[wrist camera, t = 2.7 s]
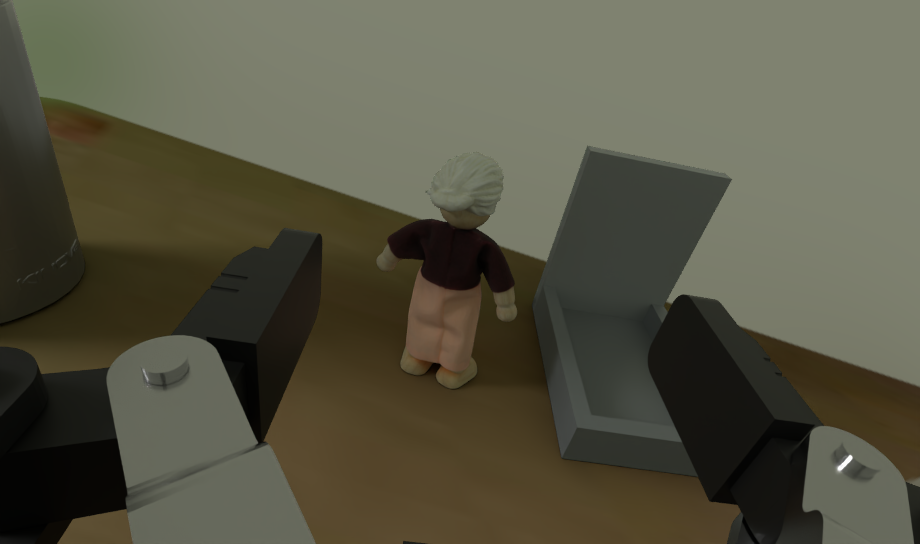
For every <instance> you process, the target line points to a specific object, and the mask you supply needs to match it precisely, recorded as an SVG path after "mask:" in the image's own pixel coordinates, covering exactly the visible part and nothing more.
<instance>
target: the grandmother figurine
mask: <svg viewBox="0 0 920 544" xmlns="http://www.w3.org/2000/svg"><path fill="white" fill-rule="evenodd" d="M503 178H504V176H503V173H502V169H501V168H500V167H499V166H498V163H497V162H496V161H495V160H494V159H492V158H490V157H487V156H485V155H483V154H481V153H478V152H474V153H465V154H462V155H459V156H456V157H455V158H453V159H450V160H448V161H447V163H446V164H445V165H444V166H443V167H442V169H441V170H440V171H438V172H437V173H436V174H435V176H434V178H433V181H432V183H431V188H430V190H427V191H426V193H428V194H429V195H430V199H431V201H432V203H433V204H434V205H435V206H436V207H438V208H440V210H441V213H442V216H443V218H444V219H445V220H446V221H447V222H443V221H439V220H434V219H425V220H419V221H416V222H413V223H411V224H409V225H406V226H405V227H403V228H401V229H400V230H398V231H397V232H395V233H393V234H392V235H390V236H389V237H388V239H387V241H388V244H387V246H386V247H385V249H384V252H383V253H382V254H380V255H379V256H378V258H377V266H378V267H379V269H381V270H382V271H385V272H389V271H392V270H393V269H394V268H395V266H396V263H397V262H399V261H400V260H401V259H418V260H424V262H423V265H422V267H421V268H420V270H419V271H418V274H417V278H416V281H415V285H414V289H413V294H412V299H411V303H410V307H409V314H408V328H407V336H406V347H405V349H404V352H403V355H402V359H401V362H400V365H401V368H402V369H403V370H404V371H405V372H407V373H410V374H413V375H422V374H424V373H426V372H427V370H428V369H429V368H430V366H431V365H432V364H433V362H434V363H440V364H441V365H442V366H441V367H440V369H439V370H438V371H437V373H436V378H437V380H438V382H439V383H440V384H442V385H443V386H445V387H447V388H450V389H456V388H459V387H461V386H462V385H464V384H465V383H466V382H468V381H469V380H471V379H472V378H473V377H474V376H475V375H476V374H477V365H476V362H475V361H474V359H473V358H472V357H471V354H472V349H473V344H474V338H475V332H476V327H477V322H478V317H479V311H480V305H481V298H482V293H481V283H480V279H481V276H480V275H481V273H482V272H483V274H484V276H485V278H486V280H487V282H488V284H489V286H490V288H491V290H492V292H493V294H494V300H495V303H496V304H497V310H496V311H497V316H498V318H499V319H500V320H502V321H504V322H510V321H512V320H514V319H515V317H516V315H517V309H516V306H515V305H514V301H515V294H514V284H515V283H514V279H513V277H512V274H511V272H510V269H509V266H508V264H507V261H506V259H505V257H504V255H503V253H502V251H501V249H500V248H499V246H498V245H497V243H496V242H495V241H494V240H492V239H491V238H490V237H489V236H487V235H485V234H484V233H482V232H481V231H479V230H478V229H476V228H477V227H479V226H480V225H482V224H484V223H485V222H486V221H487V220H488V218H489V217H490V215H491V214H493V213H494V212H495V207H496V204H497V202H498V201H500V196H501V192H502V190H503V182H502V181H503Z"/></svg>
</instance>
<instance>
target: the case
mask: <svg viewBox="0 0 920 544" xmlns="http://www.w3.org/2000/svg"><path fill="white" fill-rule="evenodd" d="M731 180H732V179H731V178H730V177H729V176H727V175H726V174H724V173H719V172H714V171H709V170H704V169H699V168H695V167H690V166H684V165H679V164H675V163H670V162H665V161H660V160H655V159H650V158H645V157H640V156H635V155H630V154H625V153H620V152H615V151H610V150H605V149H601V148H596V147H591V146H587V148H586V151H585V154H584V157H583V160H582V163H581V165H580V168H579V171H578V174H577V177H576V180H575V183H574V186H573V189H572V192H571V194H570V197H569V200H568V203H567V206H566V208H565V212H564V214H563V217H562V220H561V223H560V226H559V228H558V231H557V234H556V237H555V240H554V243H553V246H552V249H551V251H550V254H549V257H548V260H547V263H546V266H545V269H544V271H543V274H542V277H541V280H540V283H539V286H538V289H537V291H536V294H535V297H534V300H533V303H532V308H533V313H534V318H535V323H536V329H537V334H538V339H539V344H540V349H541V354H542V360H543V365H544V370H545V375H546V380H547V385H548V391H549V396H550V401H551V406H552V411H553V416H554V422H555V427H556V432H557V437H558V442H559V447H560V453H561V458H563V459H570V460H578V461H585V462H593V463H600V464H608V465H615V466H622V467H630V468H637V469H645V470H652V471H659V472H667V473H674V474H682V475H689V476H697V477H698V475H697V473H696V471H695V469H694V467H693V465H692V462H691V460H690V458H689V456H688V454H687V452H686V450H685V447H684V445H683V443H682V441H681V439H680V437H679V434H678V432H677V430H676V428H675V426H674V424H673V422H672V419H671V417H670V415H669V413H668V411H667V409H666V407H665V404H664V402H663V400H662V398H661V396H660V394H659V391H658V389H657V387H656V385H655V383H654V381H653V379H652V376H651V374H650V372H649V368H648V353H649V349H650V346H651V344H652V342H653V340H654V338H655V336H656V334H657V332H658V330H659V328H660V327H661V325H662V323H663V321H664V319H665V317H666V315H667V313H668V312H667V311H666V309H665V307H664V304H665V302H666V301H667V299H668V297H669V295H670V293H671V291H672V289H673V288H674V286H675V284H676V282H677V280H678V278H679V276H680V275H681V273H682V271H683V269H684V267H685V265H686V263H687V262H688V260H689V258H690V256H691V254H692V252H693V250H694V249H695V247H696V245H697V243H698V241H699V239H700V237H701V236H702V234H703V232H704V230H705V228H706V226H707V224H708V223H709V221H710V219H711V217H712V215H713V213H714V212H715V210H716V208H717V206H718V204H719V202H720V200H721V199H722V197H723V195H724V193H725V191H726V189H727V187H728V186H729V184H730V182H731Z"/></svg>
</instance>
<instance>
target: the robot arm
mask: <svg viewBox="0 0 920 544" xmlns="http://www.w3.org/2000/svg"><path fill="white" fill-rule="evenodd" d="M321 266H322V236H321V234H319V233H313V232H307V231H300V230H294V229H288V228H284V229H283V230H282V231H281V232H280V234H279V235H278V236H277V238H276V239H275V241H274V242H273V243H272V245H271V246H270V248H269V249H266V248H259V247H253V248H251V249H249V250H247V251H245V252H244V253H242V254H240V255H238V256H236V257H234V258H233V259H232V260H231V262H230V263H229V264H228V265H227V267H226V268H225V269H224V270H223V271H222V273H221V276H218V278H217V279H216V280H215V281H214V283H213V284H212V285H211V289H208V290H207V291H206V292H205V294H204V295H203V296H202V297H201V299H200V300H199V301H198V302H197V303H196V305H195V306H194V307H193V308H192V310H191V311H190V312H189V313H188V315H187V316H186V317H185V318H184V319H183V321H182V322H181V323H180V324H179V326H178V327H177V328H176V329H175V331H174V332H173V333H172V334H171V335H170V336H164V337H159V338H154V339H151V340H147V341H145V342H142V343H140V344H138V345H136V346H134V347H132V348H130V349H128V350H127V351H125V352H124V353H123V354H121V355H120V356H119V357H118V358H117V359H116V360H115V361H114V362H113V364H112V365H111V367H109V368H102V369H93V370H82V371H71V372H60V373H49V374H41V372H40V370H39V367H38V365H37V362H36V360H35V358H34V357H33V356H31V355H30V354H29V353H27V352H25V351H23V350H20V349H17V348H11V347H0V544H57V543H58V541H59V540H60V538H61V537H62V535H63V534H64V532H65V531H66V529H67V528H68V526H69V524H70V523H71V521H72V520H73V519H75V518H80V517H86V516H91V515H96V514H102V513H107V512H113V511H118V510H124V509H127V513H128V519H129V524H130V530H131V535H132V541H133V544H316V543H315V541H314V539H313V536H312V534H311V532H310V530H309V528H308V525H307V523H306V521H305V519H304V517H303V515H302V512H301V510H300V508H299V506H298V504H297V501H296V499H295V497H294V495H293V493H292V491H291V488H290V486H289V484H288V482H287V480H286V477H285V475H284V473H283V471H282V469H281V467H280V464H279V462H278V460H277V458H276V456H275V454H274V452H273V450H272V448H271V447H270V446H269V444H268V443H267V442H263V441H264V439H265V436H266V434H267V432H268V429H269V427H270V425H271V422H272V420H273V418H274V415H275V413H276V411H277V408H278V406H279V404H280V401H281V399H282V397H283V394H284V392H285V390H286V387H287V385H288V383H289V380H290V378H291V376H292V373H293V371H294V369H295V366H296V364H297V362H298V359H299V357H300V355H301V353H302V350H303V348H304V346H305V343H306V341H307V339H308V336H309V334H310V332H311V329H312V327H313V325H314V322H315V319H316V316H317V313H318V308H319V303H320V294H321ZM84 270H85V261H84V258H83V254H82V250H81V247H80V243H79V240H78V236H77V232H76V229H75V225H74V222H73V218H72V214H71V211H70V207H69V202H68V199H67V195H66V192H65V188H64V184H63V181H62V177H61V174H60V170H59V166H58V163H57V159H56V156H55V152H54V148H53V145H52V141H51V137H50V134H49V130H48V127H47V123H46V119H45V116H44V112H43V109H42V105H41V101H40V98H39V94H38V91H37V87H36V83H35V80H34V76H33V73H32V69H31V66H30V62H29V58H28V55H27V51H26V48H25V44H24V40H23V37H22V33H21V30H20V26H19V22H18V19H17V15H16V11H15V8H14V4H13V0H0V323H4V322H8V321H11V320H14V319H17V318H20V317H22V316H25V315H28V314H30V313H33V312H36V311H38V310H39V309H41V308H43V307H45V306H47V305H49V304H51V303H53V302H55V301H57V300H58V299H59V298H61V297H62V296H64V295H65V294H67V293H68V292H69V291H70V290H71V289H72V288H73V287H74V286H75V285H76V284H77V283H78V282H79V281H80V279H81V277H82V275H83V274H84ZM648 368H649V372H650V374H651V376H652V379H653V381H654V383H655V385H656V387H657V389H658V391H659V394H660V396H661V398H662V400H663V402H664V404H665V407H666V409H667V411H668V413H669V415H670V417H671V419H672V422H673V424H674V426H675V428H676V430H677V432H678V434H679V437H680V439H681V441H682V443H683V445H684V447H685V450H686V452H687V454H688V456H689V458H690V460H691V462H692V465H693V467H694V469H695V471H696V473H697V475H698V477H699V480H700V482H701V484H702V486H703V488H704V490H705V493H706V495H707V497H708V499H709V501H711V502H719V503H727V504H735V505H738V506H739V508H740V510H741V513H740V514H739V515H738V516H737V517H736V518H735V520H734V521H733V523H732V525H731V529H730V533H729V537H728V541H727V544H920V487H918V486H915V485H912V484H910V483H907V482H905V481H904V479H903V477H902V475H901V474H900V472H899V471H898V469H897V468H896V467H895V466H894V465H893V464H892V463H891V462H890V461H889V460H888V459H887V458H886V457H885V456H884V455H883V454H882V453H881V452H880V451H878V450H877V449H876V448H874V447H873V446H872V445H870V444H869V443H867V442H865V441H864V440H862V439H860V438H859V437H857V436H855V435H853V434H851V433H849V432H846V431H844V430H841V429H838V428H834V427H829V426H824V425H823V424H822V423H821V421H820V420H819V419H818V418H817V416H816V415H815V414H814V413H813V411H812V410H811V409H810V408H809V406H808V405H807V404H806V403H805V401H804V400H803V399H802V398H801V396H800V395H799V394H798V393H797V391H796V390H795V389H794V387H793V386H792V385H791V384H790V382H789V381H788V380H787V379H786V377H782V372H781V371H780V370H779V369H778V367H777V366H776V365H775V364H774V362H770V357H769V356H768V355H767V354H766V352H765V351H764V350H763V349H762V347H761V346H760V345H759V344H758V342H757V341H756V340H755V339H753V338H752V337H751V336H750V335H748V334H747V333H746V332H745V331H743V330H742V329H741V328H740V327H739V326H738V325H737V324H736V322H735V321H734V320H733V318H732V317H731V316H730V315H729V313H728V312H727V311H726V310H725V308H724V307H723V306H722V304H721V303H720V302H719V301H717V300H715V299H708V298H703V297H697V296H690V295H680V296H678V297H677V298H676V299H675V301H674V302H673V304H672V306H671V307H670V309H669V311H668V313H667V315H666V317H665V319H664V321H663V323H662V325H661V327H660V328H659V330H658V332H657V334H656V336H655V338H654V340H653V342H652V344H651V346H650V349H649V353H648ZM403 544H425V543H416V542H407V541H403Z"/></svg>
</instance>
